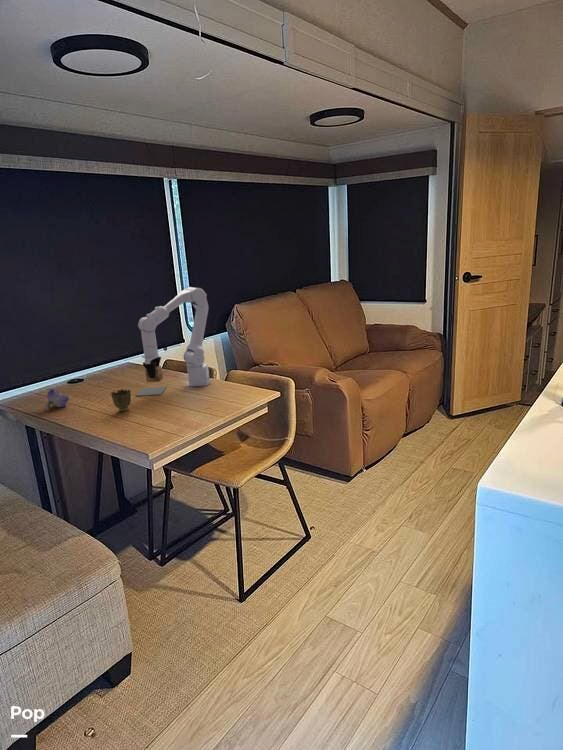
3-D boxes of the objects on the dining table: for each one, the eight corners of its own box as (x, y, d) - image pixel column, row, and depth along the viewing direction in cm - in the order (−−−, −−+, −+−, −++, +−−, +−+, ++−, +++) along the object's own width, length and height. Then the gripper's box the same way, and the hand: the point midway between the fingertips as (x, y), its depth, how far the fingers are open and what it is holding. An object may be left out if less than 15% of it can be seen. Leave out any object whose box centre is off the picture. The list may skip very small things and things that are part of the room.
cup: (128, 406, 198) (125, 387, 196) (136, 409, 193) (133, 391, 191) (110, 411, 193) (107, 392, 191) (119, 415, 188) (116, 396, 186)
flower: (48, 398, 193) (59, 381, 200) (35, 405, 196) (46, 388, 204) (66, 412, 198) (76, 395, 205) (53, 419, 201) (63, 402, 209)
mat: (166, 387, 220) (166, 386, 220) (160, 395, 210) (160, 394, 210) (143, 388, 221) (143, 387, 220) (135, 396, 210) (135, 395, 210)
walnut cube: (163, 378, 212) (161, 366, 211) (159, 381, 207) (157, 369, 205) (150, 378, 212) (149, 366, 211) (146, 382, 207) (145, 369, 206)
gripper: (145, 342, 212) (149, 371, 216) (135, 349, 198) (140, 381, 202) (161, 341, 212) (165, 370, 216) (152, 348, 198) (157, 380, 202)
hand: (154, 375), depth 209 cm, fingers closed on walnut cube, 6 cm apart
